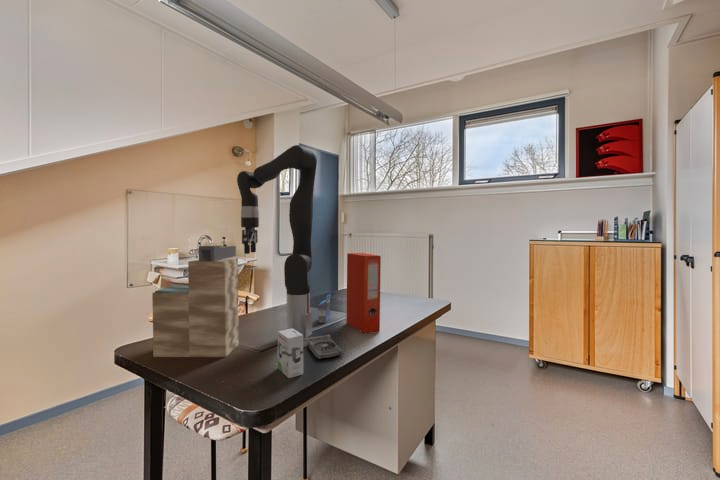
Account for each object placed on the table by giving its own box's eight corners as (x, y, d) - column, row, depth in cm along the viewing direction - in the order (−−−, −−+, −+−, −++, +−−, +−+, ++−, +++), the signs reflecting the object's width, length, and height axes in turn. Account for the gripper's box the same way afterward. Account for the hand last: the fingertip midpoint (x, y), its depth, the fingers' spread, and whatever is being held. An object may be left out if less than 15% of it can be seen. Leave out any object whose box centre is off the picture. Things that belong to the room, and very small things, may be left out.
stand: (173, 344, 122) (172, 258, 121) (238, 344, 122) (237, 258, 121) (153, 356, 110) (151, 261, 109) (225, 357, 110) (224, 261, 109)
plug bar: (225, 256, 131) (225, 243, 130) (238, 256, 131) (238, 243, 130) (198, 261, 109) (198, 246, 108) (214, 261, 109) (213, 246, 109)
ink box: (276, 368, 101) (276, 330, 101) (291, 364, 104) (291, 327, 103) (288, 378, 94) (288, 337, 94) (304, 374, 97) (304, 334, 97)
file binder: (362, 321, 153) (362, 252, 152) (380, 331, 138) (380, 255, 137) (346, 323, 150) (346, 253, 149) (362, 334, 134) (363, 256, 133)
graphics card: (298, 338, 120) (330, 333, 125) (299, 348, 120) (330, 343, 125) (310, 355, 104) (345, 348, 109) (310, 366, 105) (345, 360, 109)
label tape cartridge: (322, 317, 159) (322, 292, 159) (330, 318, 159) (330, 292, 158) (318, 322, 150) (318, 296, 150) (326, 323, 150) (326, 296, 150)
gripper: (253, 216, 140) (253, 254, 140) (262, 217, 154) (263, 251, 155) (235, 216, 140) (236, 254, 140) (246, 217, 154) (247, 251, 155)
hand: (250, 253), depth 148 cm, fingers open, 8 cm apart
